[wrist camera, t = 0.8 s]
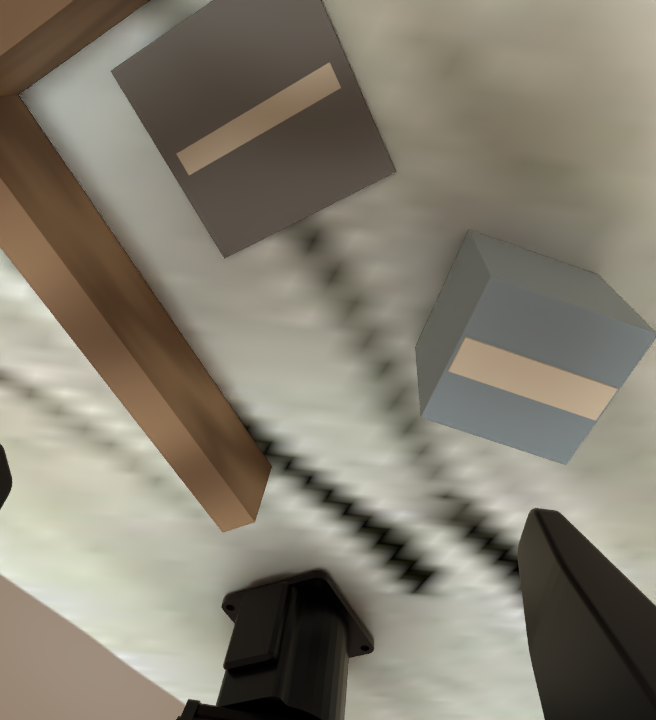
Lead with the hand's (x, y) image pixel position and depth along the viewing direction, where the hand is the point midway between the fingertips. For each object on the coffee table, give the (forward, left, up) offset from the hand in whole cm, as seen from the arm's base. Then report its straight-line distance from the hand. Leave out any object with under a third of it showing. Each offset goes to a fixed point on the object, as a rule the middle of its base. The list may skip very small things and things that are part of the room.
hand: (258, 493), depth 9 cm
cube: (-5, -5, -13) cm, 14 cm away
